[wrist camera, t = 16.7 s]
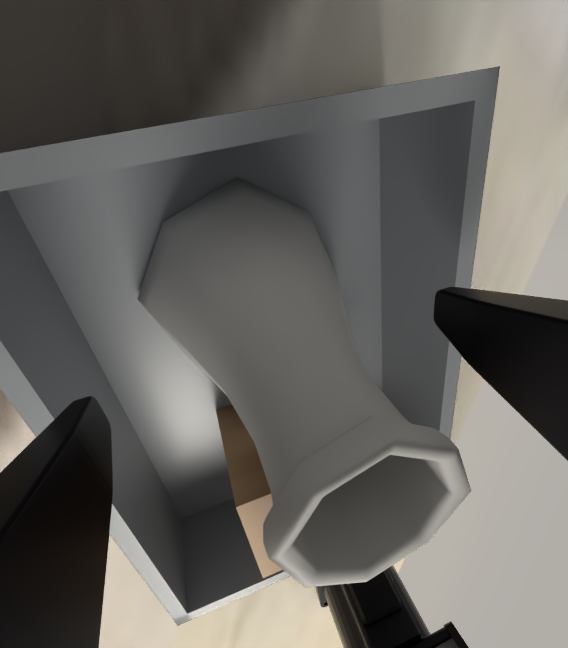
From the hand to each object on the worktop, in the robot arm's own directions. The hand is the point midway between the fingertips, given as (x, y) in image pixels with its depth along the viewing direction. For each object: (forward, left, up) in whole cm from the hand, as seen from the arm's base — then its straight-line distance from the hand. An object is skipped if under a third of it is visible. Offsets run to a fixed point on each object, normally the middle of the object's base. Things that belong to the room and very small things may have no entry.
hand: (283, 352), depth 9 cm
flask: (0, 0, -6) cm, 6 cm away
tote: (-4, 0, -6) cm, 7 cm away
